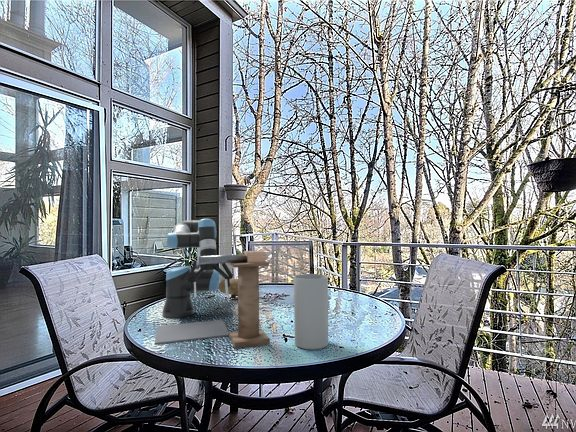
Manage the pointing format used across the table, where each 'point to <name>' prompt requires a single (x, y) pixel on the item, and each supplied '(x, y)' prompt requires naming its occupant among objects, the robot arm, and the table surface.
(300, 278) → the cylinder vase
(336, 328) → the table surface
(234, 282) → the decorative spool
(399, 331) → the table surface
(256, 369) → the table surface
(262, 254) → the wooden mallet
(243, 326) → the bobbin stand
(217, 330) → the rubber mat
